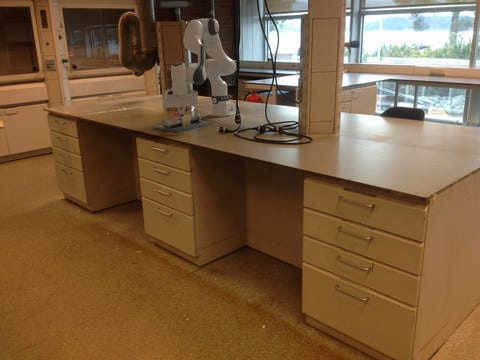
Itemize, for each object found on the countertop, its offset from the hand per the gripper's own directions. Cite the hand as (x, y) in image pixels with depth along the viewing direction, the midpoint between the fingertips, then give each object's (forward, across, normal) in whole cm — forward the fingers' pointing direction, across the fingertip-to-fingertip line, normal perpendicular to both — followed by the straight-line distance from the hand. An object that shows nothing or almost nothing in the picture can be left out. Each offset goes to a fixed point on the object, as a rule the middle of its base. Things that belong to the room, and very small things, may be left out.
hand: (181, 114), depth 268 cm
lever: (+3, +1, -6) cm, 7 cm away
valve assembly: (+10, -1, -12) cm, 16 cm away
